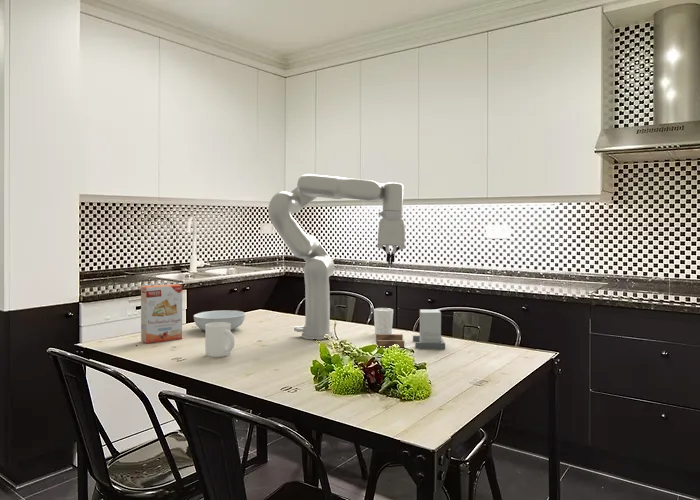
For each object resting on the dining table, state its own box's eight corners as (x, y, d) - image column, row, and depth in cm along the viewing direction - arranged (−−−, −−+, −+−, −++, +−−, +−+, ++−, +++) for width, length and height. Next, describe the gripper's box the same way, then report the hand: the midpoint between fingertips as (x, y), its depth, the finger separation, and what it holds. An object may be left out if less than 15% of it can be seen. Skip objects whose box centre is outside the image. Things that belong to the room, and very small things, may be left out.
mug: (243, 355, 180) (243, 325, 180) (223, 360, 173) (223, 329, 173) (220, 350, 187) (219, 321, 187) (200, 355, 181) (200, 324, 180)
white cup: (393, 332, 222) (393, 308, 221) (392, 336, 214) (393, 311, 213) (374, 331, 222) (374, 307, 222) (373, 335, 215) (373, 310, 214)
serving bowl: (222, 323, 238) (222, 308, 238) (255, 329, 226) (255, 313, 226) (182, 331, 221) (182, 314, 221) (216, 337, 209) (216, 320, 209)
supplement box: (438, 342, 202) (439, 309, 202) (441, 347, 195) (441, 312, 194) (419, 342, 203) (419, 308, 202) (420, 346, 195) (420, 312, 195)
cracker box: (146, 344, 197) (146, 287, 196) (140, 341, 201) (139, 285, 200) (183, 339, 206) (182, 284, 205) (176, 336, 210) (176, 283, 209)
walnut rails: (376, 347, 193) (376, 340, 193) (376, 340, 205) (376, 334, 205) (404, 348, 193) (404, 341, 193) (402, 340, 205) (402, 334, 205)
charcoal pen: (415, 348, 192) (415, 342, 192) (412, 340, 205) (412, 335, 205) (445, 348, 192) (445, 343, 192) (440, 341, 205) (440, 335, 205)
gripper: (372, 214, 200) (370, 263, 201) (412, 216, 199) (410, 265, 200) (372, 215, 208) (370, 262, 209) (411, 216, 207) (409, 264, 208)
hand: (390, 263), depth 204 cm, fingers closed
